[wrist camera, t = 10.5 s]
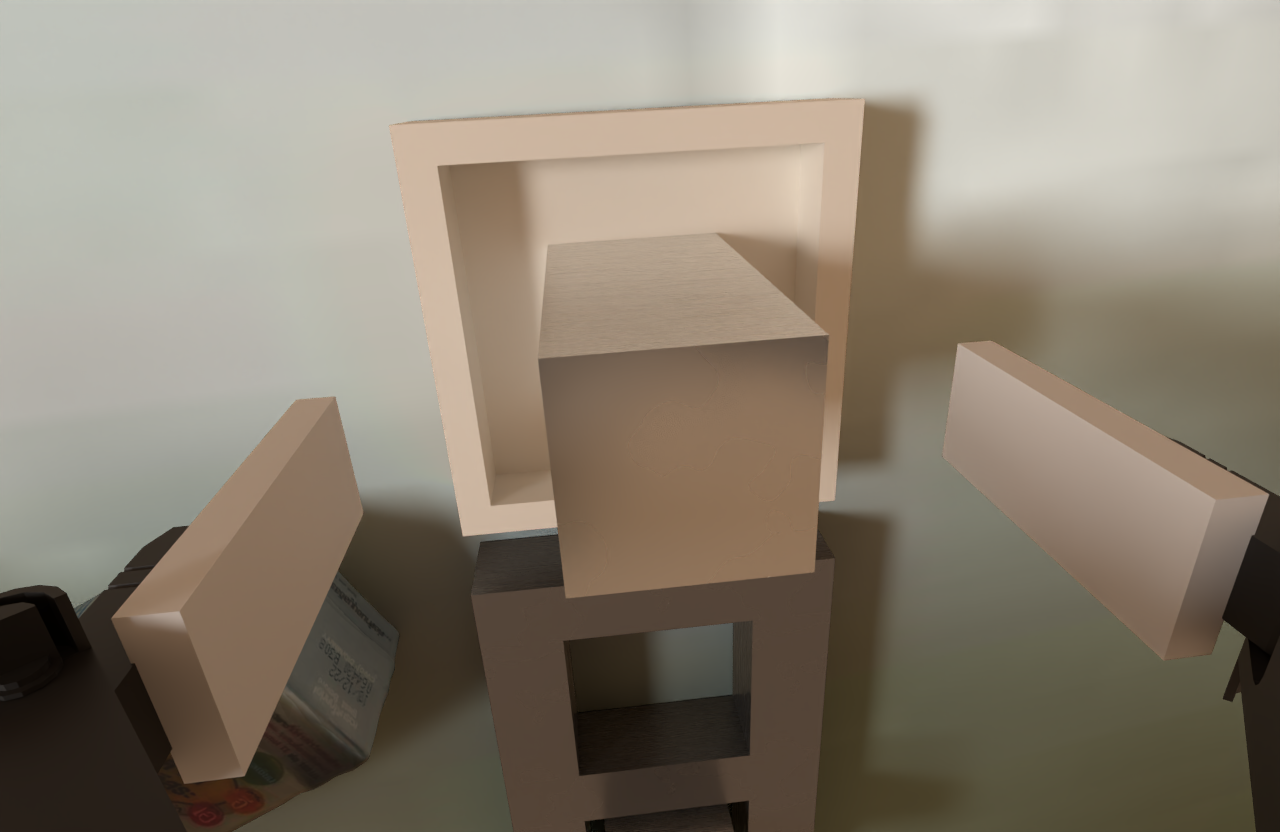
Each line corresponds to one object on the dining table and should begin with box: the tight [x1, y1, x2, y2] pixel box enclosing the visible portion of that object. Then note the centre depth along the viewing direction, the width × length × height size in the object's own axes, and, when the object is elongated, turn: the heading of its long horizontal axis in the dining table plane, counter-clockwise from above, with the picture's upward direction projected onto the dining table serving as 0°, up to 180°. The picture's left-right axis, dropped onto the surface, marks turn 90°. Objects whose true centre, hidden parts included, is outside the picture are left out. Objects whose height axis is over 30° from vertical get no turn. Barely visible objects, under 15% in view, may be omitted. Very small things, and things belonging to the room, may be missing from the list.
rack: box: [471, 529, 835, 832], centre depth 29 cm, size 12×20×3 cm, turn 3°
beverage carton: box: [74, 571, 399, 832], centre depth 24 cm, size 8×19×7 cm, turn 119°
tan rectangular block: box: [538, 233, 829, 599], centre depth 18 cm, size 5×5×10 cm
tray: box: [389, 98, 865, 536], centre depth 22 cm, size 12×12×3 cm
